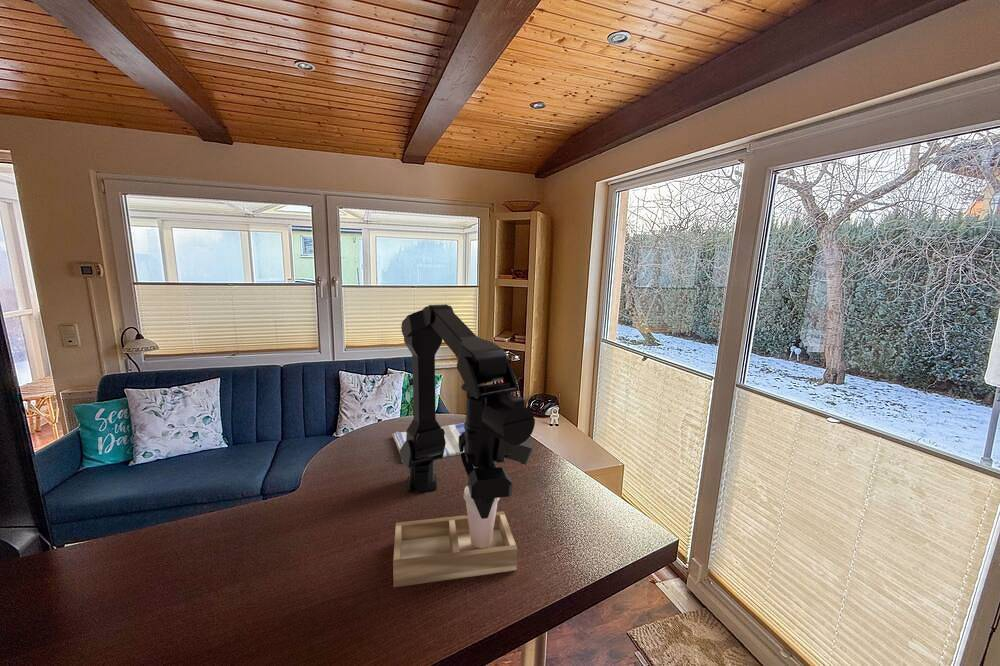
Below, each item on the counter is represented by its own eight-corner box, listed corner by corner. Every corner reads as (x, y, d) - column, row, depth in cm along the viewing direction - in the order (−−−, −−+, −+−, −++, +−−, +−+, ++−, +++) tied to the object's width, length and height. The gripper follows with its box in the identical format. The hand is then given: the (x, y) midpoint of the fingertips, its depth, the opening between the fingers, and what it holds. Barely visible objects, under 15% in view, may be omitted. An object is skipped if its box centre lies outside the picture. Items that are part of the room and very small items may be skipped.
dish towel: (391, 439, 118) (391, 430, 117) (468, 429, 127) (468, 420, 126) (399, 466, 102) (399, 456, 102) (487, 452, 111) (487, 443, 110)
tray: (396, 542, 74) (395, 522, 73) (503, 530, 78) (503, 511, 77) (393, 587, 63) (393, 564, 63) (516, 570, 68) (517, 548, 67)
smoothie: (494, 556, 68) (497, 479, 65) (458, 550, 69) (458, 474, 66) (502, 531, 74) (504, 460, 71) (468, 526, 75) (469, 456, 73)
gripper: (546, 442, 60) (541, 536, 63) (515, 400, 78) (513, 475, 81) (472, 447, 58) (471, 544, 61) (458, 403, 76) (457, 479, 78)
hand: (481, 506), depth 70 cm, fingers closed on smoothie, 6 cm apart
